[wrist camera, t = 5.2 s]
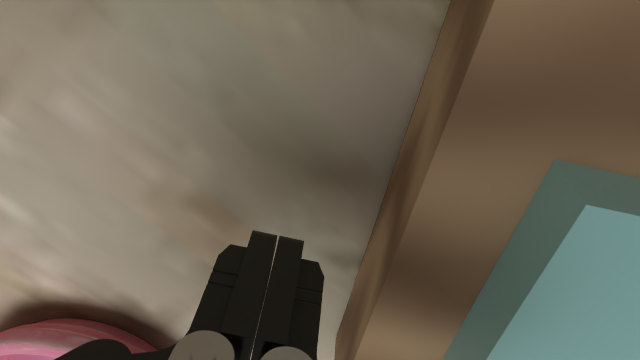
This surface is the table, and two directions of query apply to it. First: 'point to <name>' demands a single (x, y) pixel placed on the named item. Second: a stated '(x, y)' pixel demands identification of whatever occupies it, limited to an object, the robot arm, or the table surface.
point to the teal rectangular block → (564, 276)
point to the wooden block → (489, 158)
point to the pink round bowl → (61, 338)
